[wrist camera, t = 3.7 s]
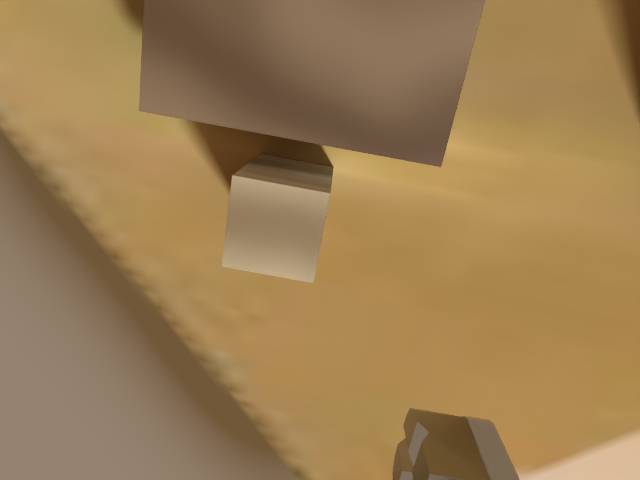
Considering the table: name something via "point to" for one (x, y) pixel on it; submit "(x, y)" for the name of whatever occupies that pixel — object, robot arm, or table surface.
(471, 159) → the table surface
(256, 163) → the beige block
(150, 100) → the lid
